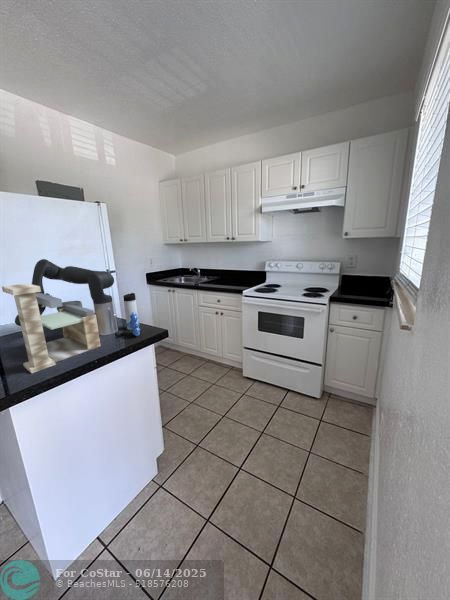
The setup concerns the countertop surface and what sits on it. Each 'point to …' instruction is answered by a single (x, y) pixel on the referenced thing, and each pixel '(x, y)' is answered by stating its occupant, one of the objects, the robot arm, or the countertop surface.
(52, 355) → the trapdoor frame
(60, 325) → the trapdoor
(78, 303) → the grey rounded piece
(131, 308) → the travel mug
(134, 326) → the grapes
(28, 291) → the tall stand
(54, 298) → the slate block
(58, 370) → the countertop surface
